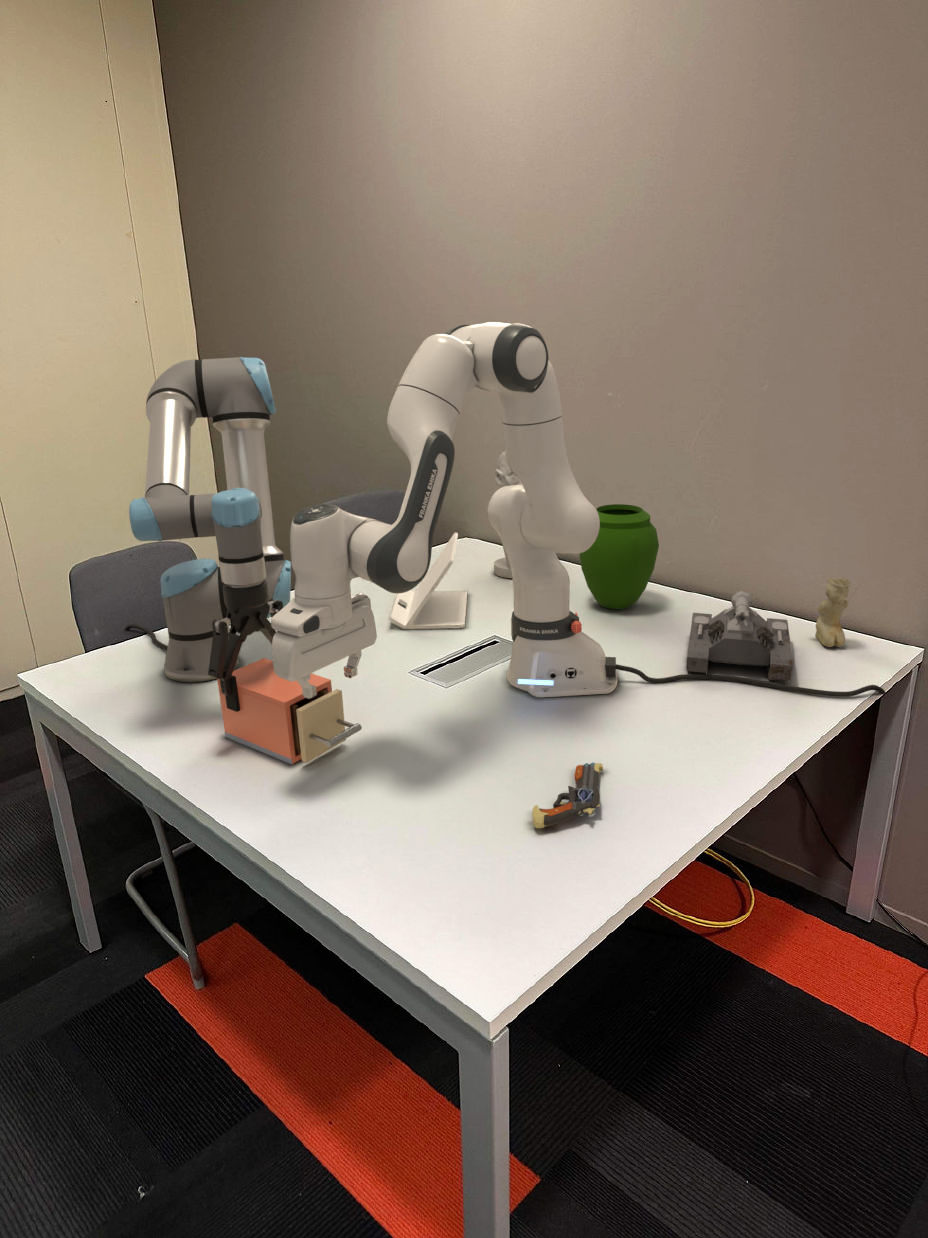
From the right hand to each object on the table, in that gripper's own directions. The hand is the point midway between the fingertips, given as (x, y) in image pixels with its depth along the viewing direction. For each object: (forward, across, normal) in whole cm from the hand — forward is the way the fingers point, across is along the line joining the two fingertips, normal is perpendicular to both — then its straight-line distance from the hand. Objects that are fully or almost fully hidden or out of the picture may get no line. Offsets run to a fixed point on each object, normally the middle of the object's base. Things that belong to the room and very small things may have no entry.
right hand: (331, 686), depth 141 cm
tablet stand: (+14, -66, -33) cm, 75 cm away
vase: (+14, -95, +3) cm, 96 cm away
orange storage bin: (+14, 0, -14) cm, 20 cm away
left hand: (+7, 0, -19) cm, 20 cm away
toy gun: (+14, -12, +39) cm, 43 cm away
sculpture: (+14, -97, +54) cm, 112 cm away
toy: (+14, -78, +40) cm, 89 cm away
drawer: (+13, 0, -8) cm, 15 cm away
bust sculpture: (+14, -103, -29) cm, 108 cm away
